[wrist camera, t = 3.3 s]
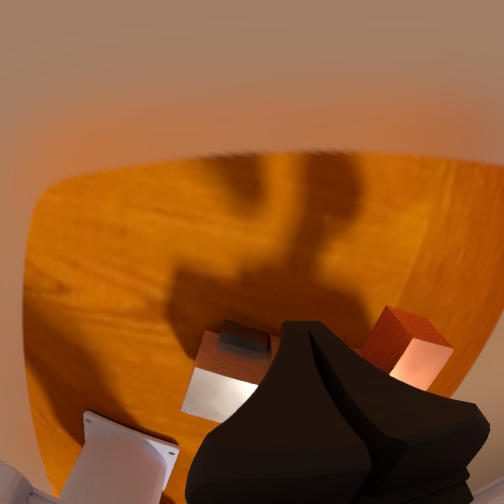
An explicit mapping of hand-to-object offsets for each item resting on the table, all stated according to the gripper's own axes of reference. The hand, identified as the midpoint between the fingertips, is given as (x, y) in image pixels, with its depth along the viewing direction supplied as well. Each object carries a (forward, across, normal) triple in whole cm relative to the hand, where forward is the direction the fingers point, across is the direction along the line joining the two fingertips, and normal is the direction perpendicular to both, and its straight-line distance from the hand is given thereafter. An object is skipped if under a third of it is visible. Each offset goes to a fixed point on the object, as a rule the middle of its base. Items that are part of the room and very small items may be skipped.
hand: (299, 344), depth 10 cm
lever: (0, -3, +3) cm, 4 cm away
